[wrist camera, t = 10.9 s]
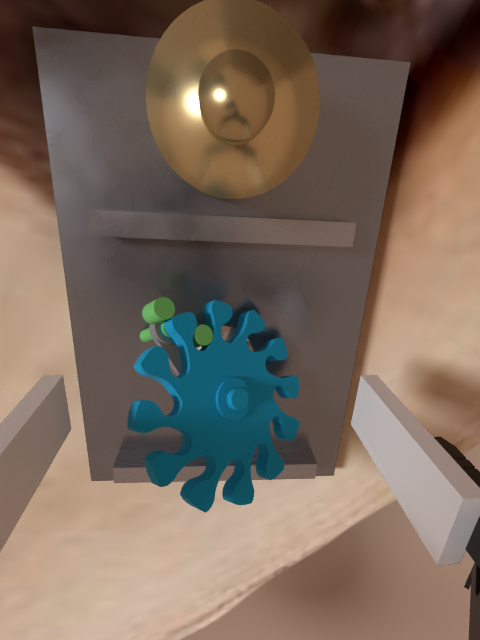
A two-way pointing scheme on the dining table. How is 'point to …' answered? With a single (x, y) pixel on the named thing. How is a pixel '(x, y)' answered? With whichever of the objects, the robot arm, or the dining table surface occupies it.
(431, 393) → the dining table surface
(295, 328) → the board
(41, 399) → the robot arm
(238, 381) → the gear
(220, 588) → the dining table surface
